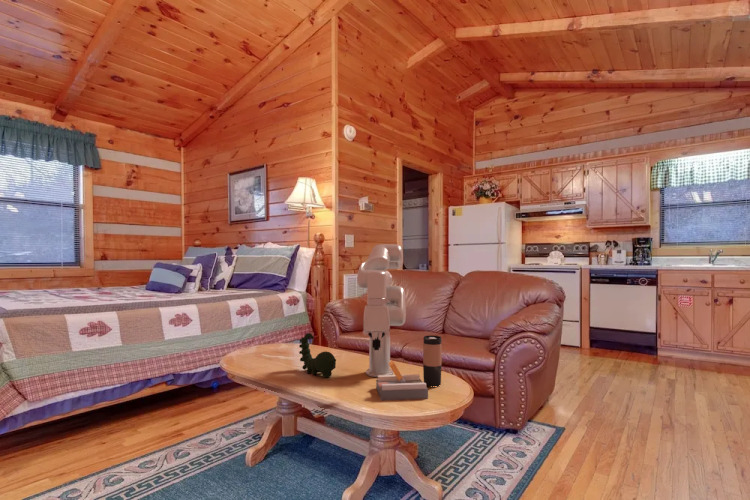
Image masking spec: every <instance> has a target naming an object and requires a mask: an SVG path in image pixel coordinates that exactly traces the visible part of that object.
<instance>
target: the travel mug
mask: <svg viewBox="0 0 750 500" xmlns="http://www.w3.org/2000/svg"><path fill="white" fill-rule="evenodd" d="M422 347H423V349H422V350H423V353H422V355H423V357H422V359H423V361H422V362H423V363H422V367H423V368H422V370H423V373H422V374H423V383H426V387H427V386H432V387H431V388H434V387H433V386H439V385H442V363H443V362H442V336H439V335H425V336H423V346H422ZM439 387H440V386H439Z"/></svg>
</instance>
